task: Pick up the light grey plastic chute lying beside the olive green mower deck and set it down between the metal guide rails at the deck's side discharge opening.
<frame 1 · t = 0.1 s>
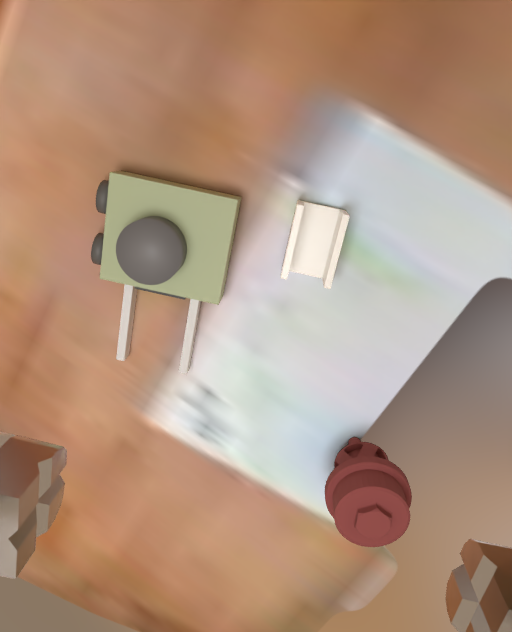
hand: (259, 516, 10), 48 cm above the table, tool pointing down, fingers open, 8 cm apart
chute: (312, 239, 56), on the table
mechanical component: (359, 456, 65), on the table
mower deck: (173, 235, 57), on the table
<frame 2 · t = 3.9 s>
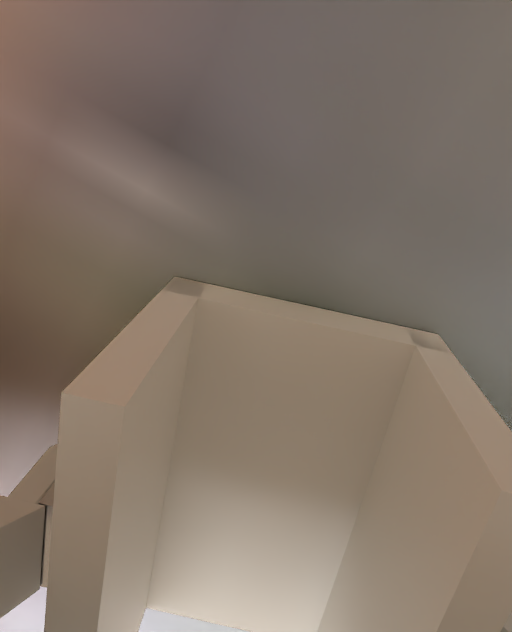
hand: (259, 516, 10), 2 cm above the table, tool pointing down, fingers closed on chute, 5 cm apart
chute: (265, 465, 11), on the table, touching gripper
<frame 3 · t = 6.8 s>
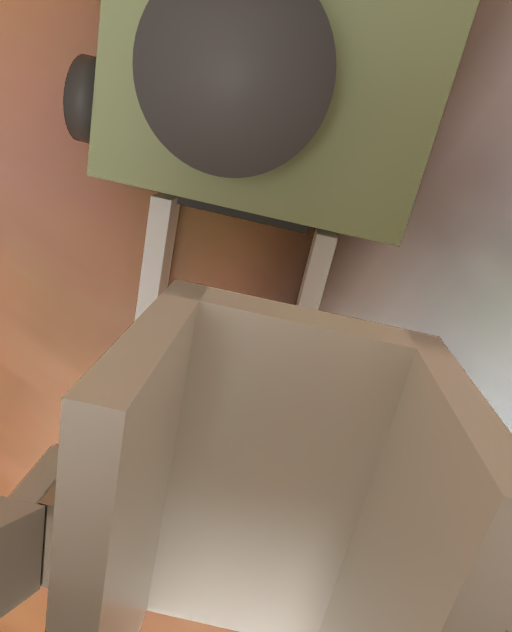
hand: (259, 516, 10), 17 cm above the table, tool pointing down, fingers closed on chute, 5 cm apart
chute: (266, 467, 11), point 15 cm above the table, touching gripper
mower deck: (277, 71, 22), on the table
when the fingers open (4 cm above the table, at t = 10.0 s): chute drops 2 cm, resting in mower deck.
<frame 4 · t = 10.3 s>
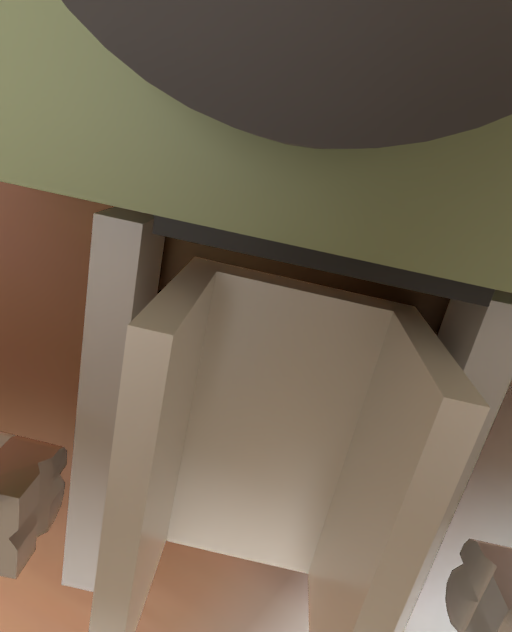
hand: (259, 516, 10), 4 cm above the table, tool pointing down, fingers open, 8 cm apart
chute: (269, 418, 13), resting in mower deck
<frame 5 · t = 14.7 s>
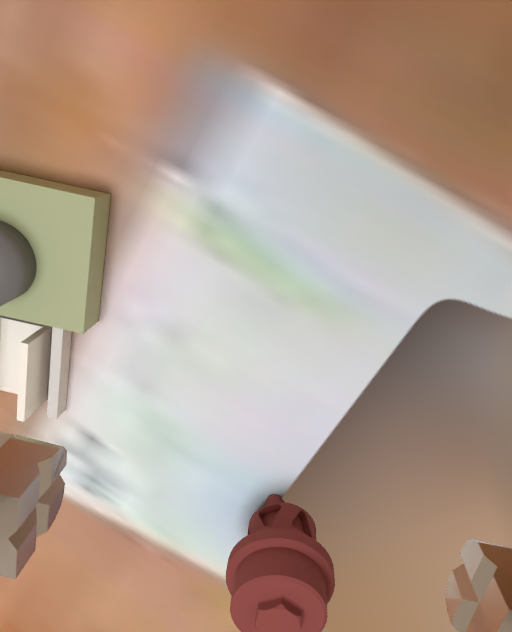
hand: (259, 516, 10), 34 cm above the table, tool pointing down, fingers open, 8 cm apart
chute: (26, 354, 48), resting in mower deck
mechanical component: (282, 517, 52), on the table
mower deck: (30, 243, 44), on the table
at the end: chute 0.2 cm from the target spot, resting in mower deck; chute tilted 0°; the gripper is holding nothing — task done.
